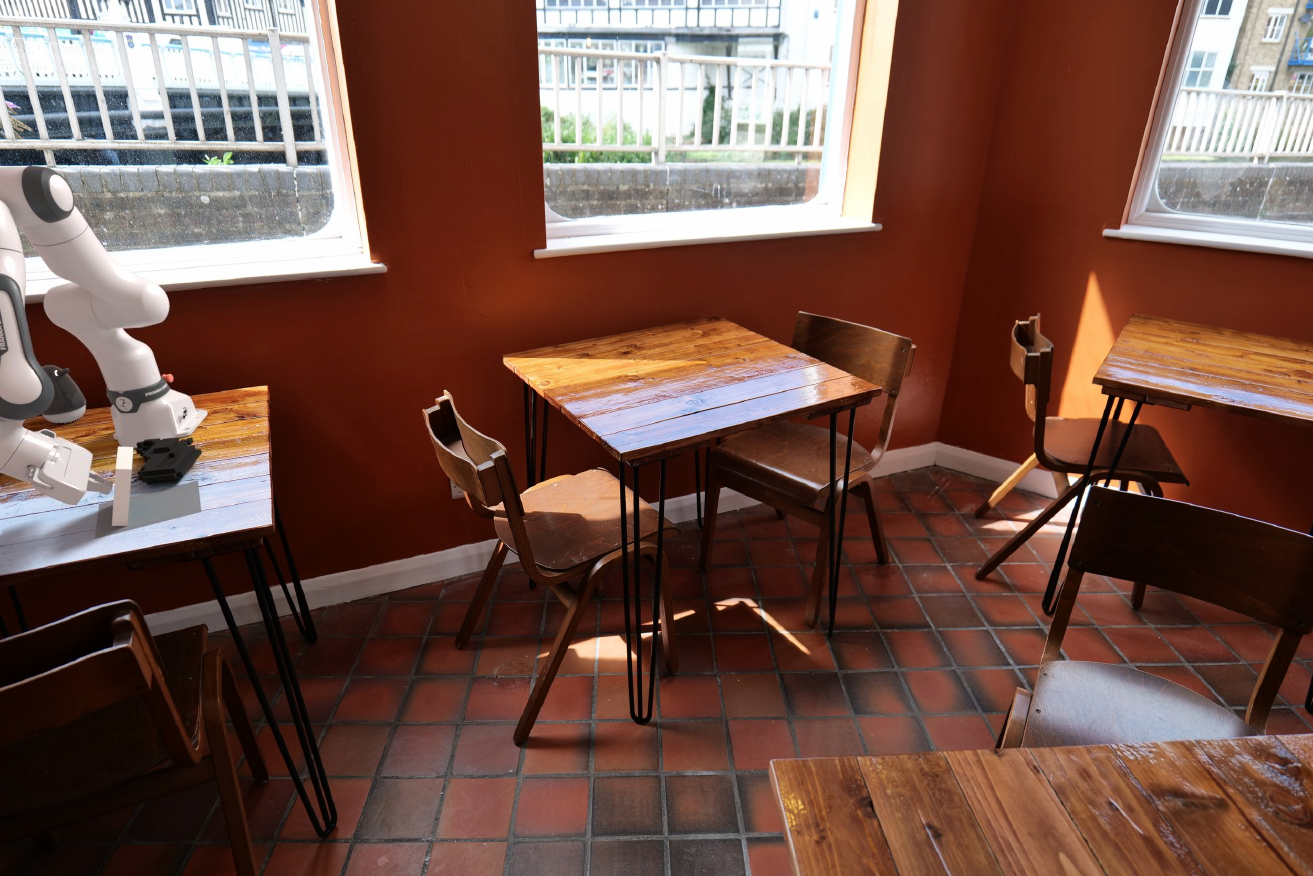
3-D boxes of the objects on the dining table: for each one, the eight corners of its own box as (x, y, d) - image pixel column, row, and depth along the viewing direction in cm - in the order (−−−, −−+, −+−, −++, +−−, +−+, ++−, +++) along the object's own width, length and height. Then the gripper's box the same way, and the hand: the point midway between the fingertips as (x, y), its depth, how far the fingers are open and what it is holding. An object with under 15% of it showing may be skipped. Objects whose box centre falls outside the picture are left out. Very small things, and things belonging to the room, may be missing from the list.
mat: (95, 540, 144) (94, 538, 144) (100, 505, 156) (99, 503, 156) (201, 513, 152) (201, 511, 152) (198, 482, 165) (197, 480, 164)
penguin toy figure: (73, 427, 195) (51, 372, 188) (34, 428, 195) (11, 372, 189) (100, 412, 204) (81, 358, 198) (63, 412, 204) (42, 359, 198)
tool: (99, 473, 158) (176, 465, 161) (140, 434, 176) (209, 427, 179) (108, 495, 160) (184, 487, 163) (147, 454, 179) (215, 447, 181)
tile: (111, 526, 146) (115, 468, 143) (114, 500, 156) (118, 446, 153) (127, 525, 148) (131, 469, 145) (129, 500, 157) (133, 447, 154)
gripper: (34, 464, 133) (118, 497, 141) (47, 425, 149) (122, 457, 157) (12, 493, 133) (98, 525, 141) (28, 451, 149) (104, 481, 157)
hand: (111, 489), depth 149 cm, fingers closed
